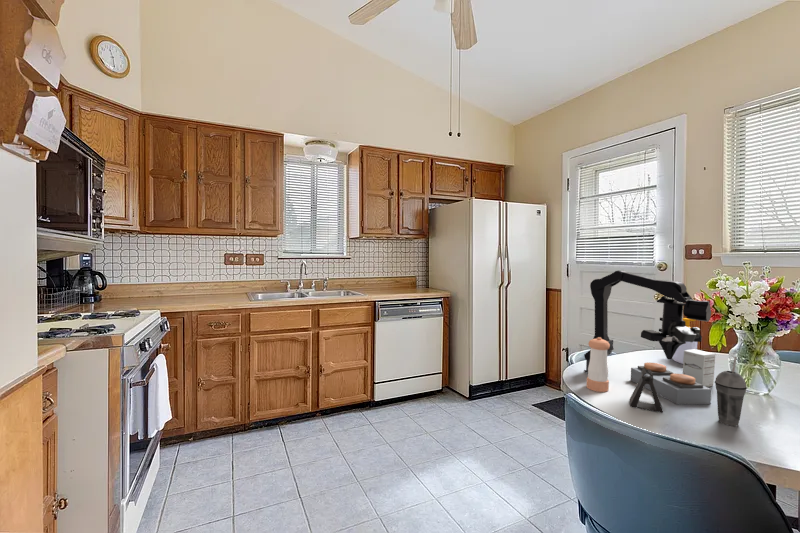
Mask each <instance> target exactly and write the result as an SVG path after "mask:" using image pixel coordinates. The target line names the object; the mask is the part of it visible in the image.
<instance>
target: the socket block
mask: <svg viewBox="0 0 800 533" xmlns="http://www.w3.org/2000/svg"><path fill="white" fill-rule="evenodd" d="M642 369H644V365H638V366H637V367H631V368H630V381H632V382H633V383H635V384H636V385H637V384H638V382H639V380H640V378H641V370H642ZM645 370H646V374H645V375H644V376H646V377H647V376H648V377H649V376H650V374H649V372H648V370H647V369H645ZM651 372H652V375H653V384H654V387H655V390H656V392H657V395H658V396H660V397H662V398H664V399H666V400H668V401H670V402H672V403H674V404H676V405H703V404H705V405H708V404H709V405H711V402H712V401H711V400H712V389H711V388H709V387H705V386H703V385H702V384H699V383H697V382H695V384H693V385H687V384H680V383H677V382H674V381H672V380H670V374H675V373H674V372H672V371H670V370H668V369H666V372H653V371H651ZM644 388H645V389H647V390H649V391H650V392H651V388H650V385H649V384H645V386H644Z"/></svg>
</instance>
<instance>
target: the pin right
mask: <svg viewBox="0 0 800 533" xmlns="http://www.w3.org/2000/svg"><path fill="white" fill-rule="evenodd" d="M670 380H672V381H674V382H677V383H680V384H687V385H693V384H695V378H694V377H692V376H688V375H684V374H683V373H674V374H670Z"/></svg>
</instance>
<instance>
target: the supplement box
mask: <svg viewBox="0 0 800 533" xmlns="http://www.w3.org/2000/svg"><path fill="white" fill-rule="evenodd" d="M715 364H716V353H714V352H708V351H704V350H701V349H698V348H697V349H691V350H684V359H683V364H682V374H684V375H688V376H692V377H694V378H695V382H697V383H699V384H702V385H703V386H705V387H707V388H709V387H713V386H714V382H715V381H714V379H715Z"/></svg>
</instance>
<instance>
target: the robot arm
mask: <svg viewBox="0 0 800 533" xmlns="http://www.w3.org/2000/svg"><path fill="white" fill-rule="evenodd" d="M621 282H623V283H628V284H631V285H635V286H638V287H642V288H646V289H649V290H652V291H654V292H656V293H658V294H659V295H662V296H661V297H660V298H659V299H657V300H656V303H658V304H659V303H660V304H663V305H662V306H663V309H662V317H659V321H661V328H659V329H658V331H657V330H653V329H643V330H642V331H640V338H643V339H644V340H648V341H651V342H658V343H659V345H660V346H661V348H662V350H663V353H664V356H665V357H666V359H667V360H670V361H671V360H673V355H674V354H675V352H676V350H677V349H678V347H679V346H680V345H682V344H685V343H686V342H693V341H694V342H697V343H702V342H703V340H702V338H703V337H702V335H701V329H700V328H699V327H697V326H695V327H691V328H688V327H686V325H685V324H686V323H685V321H683V316H684V317H685V318H687V319H693V320H696V321H701V322H710V320H711V316H712V310H711V309H712V308H711V306H710V305H711V302H710V300H709V301H707V300H695V299H693V298H692V296H691V295H690V294H689V292H688V291H687V287H686V285H685V283H683V282H681V281H677V280H669V279H665V280H664V279H656V278H652V277H649V276H643V275H640V274H636V273H632V272H628V271H626V270H624V269H621V270H615V271H614V272H612V273H610V274H608V275H605V276H603V277H601V278H595V279H593V280H592V281H590V285H589V289H590V293H591V296H592V298H593V301H594V336H593V338H592V339H597V337H600V338H602V339H603V340H606V341H607V342H608V343H609V344H610V347H609V349H608V350H607V357H608V356H610V355H611V354H612V352H613V351H614V350H615V349H614V339H610V338H609V334H608V333H609V332H608V331H609V330H608V323H609V322H608V300H609V298H610V295H611V293H612V287H614V286H616V285H618V284H619V283H621ZM590 352H591V348H590V350H588V351H587V352H586V353H584V354H583V357H584V359H585V361H586V363H585V365H586V366H585V369H584V370H583V372H584V371H585V372H584V373H586V374H588V367H589V362H590Z"/></svg>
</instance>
